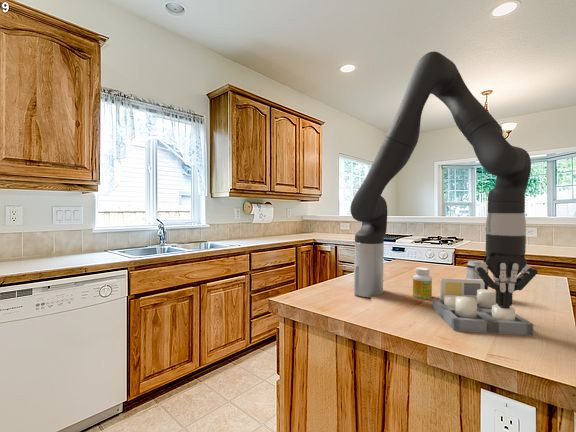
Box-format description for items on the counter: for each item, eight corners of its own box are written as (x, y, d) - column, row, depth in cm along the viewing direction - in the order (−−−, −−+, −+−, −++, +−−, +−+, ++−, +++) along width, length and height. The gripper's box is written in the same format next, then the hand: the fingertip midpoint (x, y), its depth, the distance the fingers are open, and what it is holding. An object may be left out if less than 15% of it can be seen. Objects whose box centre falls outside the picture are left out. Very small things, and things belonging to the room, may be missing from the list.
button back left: (447, 314, 78) (447, 299, 78) (441, 309, 83) (441, 294, 83) (465, 315, 78) (466, 300, 78) (459, 310, 82) (459, 295, 82)
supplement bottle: (423, 303, 92) (423, 271, 92) (408, 298, 97) (409, 267, 97) (435, 300, 95) (435, 269, 94) (420, 296, 99) (421, 266, 99)
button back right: (481, 309, 77) (481, 293, 77) (473, 303, 81) (474, 288, 81) (500, 310, 76) (500, 294, 76) (491, 304, 81) (492, 289, 81)
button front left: (459, 318, 70) (459, 301, 70) (452, 311, 75) (452, 295, 75) (480, 319, 70) (480, 302, 70) (471, 313, 74) (472, 296, 74)
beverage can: (490, 303, 92) (491, 263, 92) (470, 301, 94) (471, 262, 93) (482, 297, 98) (483, 260, 98) (463, 296, 99) (464, 259, 99)
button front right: (497, 327, 69) (497, 309, 69) (488, 320, 74) (488, 303, 73) (518, 328, 68) (519, 311, 68) (508, 321, 73) (508, 305, 73)
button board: (453, 334, 69) (454, 295, 69) (430, 309, 87) (431, 277, 86) (532, 340, 66) (533, 299, 66) (492, 312, 84) (493, 279, 84)
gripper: (481, 233, 68) (480, 311, 68) (548, 234, 66) (546, 314, 66) (467, 231, 75) (466, 301, 76) (527, 232, 73) (525, 304, 73)
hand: (503, 307), depth 71 cm, fingers closed
